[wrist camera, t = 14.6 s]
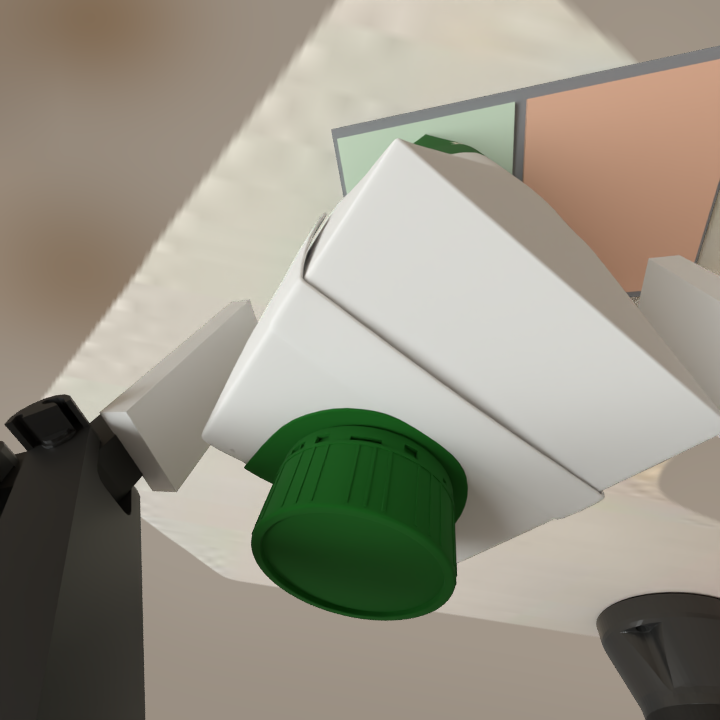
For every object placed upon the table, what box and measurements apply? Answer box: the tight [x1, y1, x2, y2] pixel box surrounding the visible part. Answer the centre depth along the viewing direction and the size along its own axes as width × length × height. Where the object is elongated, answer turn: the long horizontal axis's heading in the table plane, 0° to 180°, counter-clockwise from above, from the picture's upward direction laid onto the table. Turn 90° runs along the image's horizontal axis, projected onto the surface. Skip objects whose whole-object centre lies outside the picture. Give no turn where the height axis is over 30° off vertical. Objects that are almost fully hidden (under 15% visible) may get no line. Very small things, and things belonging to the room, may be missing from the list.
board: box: [331, 46, 720, 297], centre depth 22 cm, size 12×20×1 cm, turn 100°
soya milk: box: [202, 134, 720, 621], centre depth 14 cm, size 9×9×20 cm
